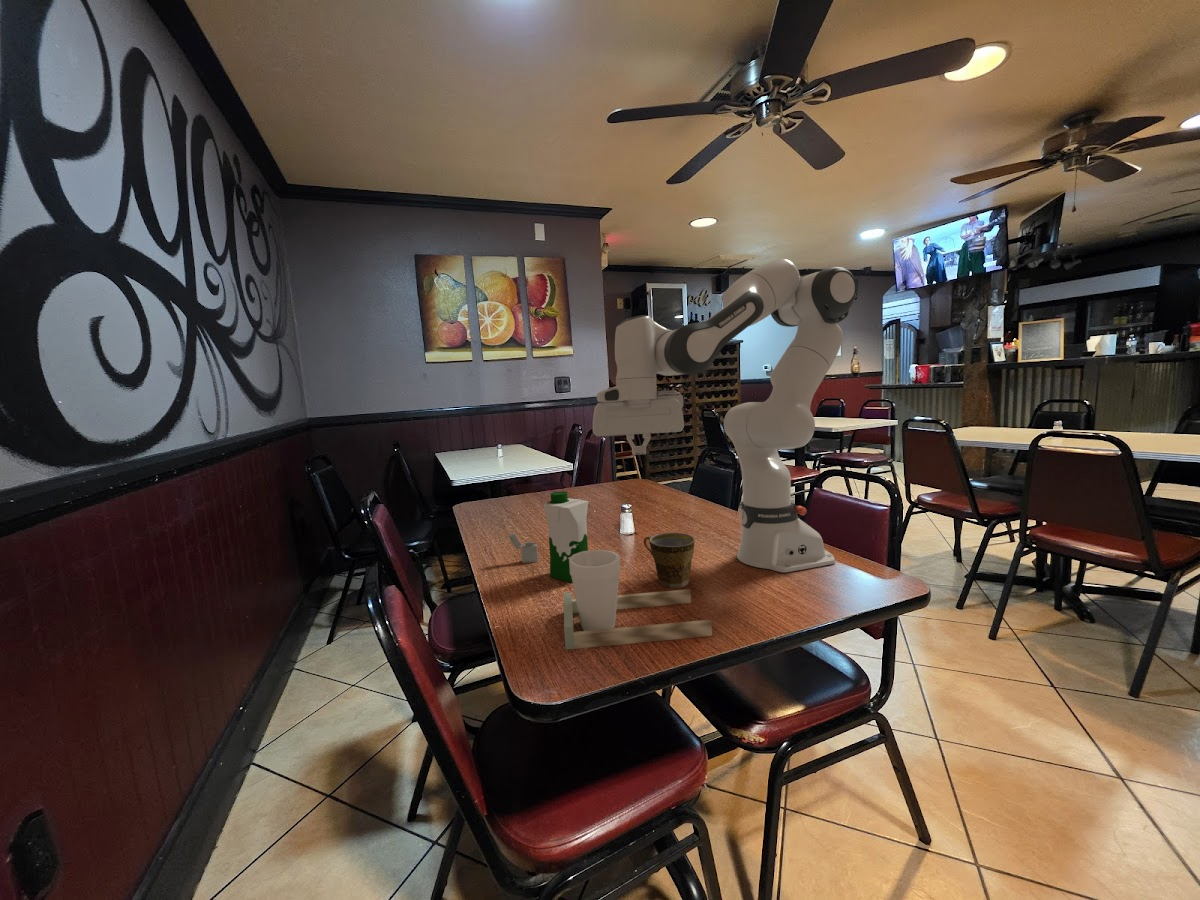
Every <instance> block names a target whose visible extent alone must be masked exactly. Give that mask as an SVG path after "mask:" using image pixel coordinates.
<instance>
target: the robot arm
mask: <svg viewBox="0 0 1200 900" xmlns="http://www.w3.org/2000/svg"><path fill="white" fill-rule="evenodd" d="M856 293H857V282H856V279H855V277H854V275H853V273H852V272H851V271H850V270H849V269H847V268H845V267H842V266H840V267H839V266H834V267H827V268H824V269H820V271H816V272H813V273H810V274H807V275H804V276H802V275H800V271H799V268H798V267H797V265H795V263H793V262H792V261H791V260H789V259H787V258H775V259H773V260H770V261H768V262H766V263H763V264H761V265H759V266H757V267H755V268H753V269H752V270H750V271H748V272H747V273H745V274H744V275H742V276H740V278H738V279H737V280H736V281H734V282H732V284H731V285H730V286H729V287H728V288H727V289H726V290H725V291H724V293H723V296H722V308H721V309H720V310H719V311H717V312H716V313H715V314H713V315H712V316H710V317H709V318H708V319H706V320H705V321H701V322H694V323H689V324H685V325H683V326H681V327H678V328H677V329H673V330H671V329H669V328H666V327H664V326H663V325H660V324H658V323H657V321H655V320H653V319H652V318H651V316H650V315H637V316H632V317H630V318H626V319H624V320H622V321H621V322H620V323H618V325H617V326H616V328H615V333H614V334H615V336H614V359H615V360H614V361H615V363H616V368H617V369H616V371H617V372H616V376H615V386H611V387H608V388H607V389H604V390H602V391H600V392H598V393H597V394H596V400H597V402H599V403H597V404H596V405H595V406H594V410H593V415H592V433H593V434H594V436H596V437H613V436H626V440H627V442H628V443H629V445H630V447H631V453H632V456H638V455H646V454H647V447H648V444H649V443H650V441H651V439H652V438H651V434H661V433H662V434H663V433H664V434H665V433H678V432H679V433H680V432H682V431H683V429H684V427H685V420H684V414H683V408H684V397H683V394H681V392H678V391H677V390H675V389H671V390H657V375H660V376H661V375H662V376H664V377H668V376H670V377H671V376H681V375H692V376H693V375H698V374H701V373H703V372H705V371H707V370H708V369H709V368H710V367H711V365H712V364H713V362H714V361H715V360H716V358H717V357H718V355H719V353H720V352H721V350H722V349H723V348H724V346H726V345H727V344H729V342H730V341H731V340H733V339H734V338H735V337H737V336H738V335H739V334H740V333H742V332H743V331H744V330H746V329H747V328H748V327H751V326H753V325H756V324H757V323H759V322H761V321H762V320H764V319H766V318H767V317H769V316H771V318H772V319H773V321H774V322H775V323H777V325H779V326H782V327H787V328H788V327H789V328H792V327H797V328H796V329H797V330H796V333H795V337H794V339H792V341H791V343H790V344H789V346H788V347H787V348H786V350H785V351H784V353H782V354H783V355H782V356H781V357H780V359H779V360H778V362H777V363H776V365H775V367H774V368H773V370H772V371H771V373H770V376H769V378H770V384H771V385H772V391H771V393H770V395H769V397H768V398H767V399H766V400H765V401H758V402H757V401H749V402H744V403H740V404H737V405H735V406H733V407H731V408H729V410H728V411H727V412H726V414H725V416H724V419H723V429H724V432H725V434H726V436H728V438H729V439H730V441H731V442H732V444H733V446H734V449H735V452H736V455H737V458H738V462H739V465H740V471H741V478H742V479H741V480H742V481H741V483H742V502H741V507H740V509H741V510H740V521H741V526H742V530H741V538H740V544H739V549H738V552H737V555H736V557H737V559H738V561H740V562H741V563H743V564H745V565H748V566H751V567H755V568H760V569H765V570H766V569H767V570H772V571H775V572H779V573H790V572H795V571H801V570H806V569H807V570H808V569H812V568H813V569H814V568H819V567H824V566H830V565H834V564H836V559H835V556H834V555H833V554H832V553H831V552H829V551H828V550H826V549H825V545H824V540H823V538H822V536H821V534H820V533H819V532H818V531H817V530H815V529H814V528H812V526H810V525H808V523H806V522H805V521H803V519H800V518H799V516H798V515H800V516H805V515H806V514H807V511H808V510H807V509H806V507H804V506H802V505H795V504H794V503H792V499H791V498H792V496H791V493H792V491H791V485H792V484H791V483H792V481H791V472H790V470H789V469H788V467H787V466H786V465H785V464H784V462H783V461H782V459H781V457H780V454H779V451H780V450H781V451H784V450H793V449H799V448H802V447H804V446H806V445H807V444H808V443H809V442H810V441H811V439H812V438H813V436H814V433H815V429H816V423H815V422H816V421H815V418H814V415H813V413H812V410H811V406H812V401H813V398H814V395H815V393H816V392H817V390H818V388H819V387H820V385H821V383H822V382H823V380H824V378H825V377H826V375H827V373H828V372H829V370H830V369H831V367H832V365H833V364H834V361H835V360H836V358H837V355H838V353H839V351H840V348H841V346H842V343H843V340H844V333H843V329H842V328H841V326H840V325H838V324H839V323H841V322H843V321H844V320H845V319H846V318H847V316H848V315H849V310H850V309H851V307H852V306H853V303H854V302H855V298H856ZM635 435H642V439H644V440H643V442H642V444H641V445H636V444H635V443H634V441H633V440H634V439H635ZM778 450H779V451H778Z"/></svg>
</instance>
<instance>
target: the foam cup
mask: <svg viewBox="0 0 1200 900" xmlns="http://www.w3.org/2000/svg"><path fill="white" fill-rule="evenodd" d="M569 565H570V575H571V576H572V581H573V583H572V586H573V591H574V596H575V599H576V602H577V607H578V612H579V613H578V616H579V621H580V626H581V629H582V630H583V631H590V630H601V629H612V628H615V626H616V618H617V610H616V608H617V596H618V594H619V583H620V572H621V570H622V569H621V557H620V554H619V553H617V552H614V551H613V550H607V549H588V551H582V552H579V553H576V554H574V555H572V556H571V557H570V558H569Z"/></svg>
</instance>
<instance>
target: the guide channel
mask: <svg viewBox="0 0 1200 900" xmlns="http://www.w3.org/2000/svg"><path fill="white" fill-rule="evenodd" d="M691 603H692V591H691V589H689V588H687V589H676V590H664V591H663V590H662V591H653V592H643V593H642V592H641V593H640V592H639V593H628V594H619V595H618V596H617V608H616V611H617V610H626V609H637V608H649V607H651V608H653V607H659V606H661V607H662V606H663V607H664V606H672V605H683V604H691ZM572 611H573V614H579V612H578V607H577V602H576V598H574V599H573V598H572ZM712 624H713V623H712V621H711V619H701V620H692V621H689V620H688V621H679V622H668V623H659V624H658V623H657V624H647V625H637V626H624V627H614V628H612V629H601V630H590V631H584V630H583V631H582V630H581V631H574V632H573V634H574V649H573V650H576V649H587V648H597V647H598V648H599V647H608V646H610V647H611V646H619V645H629V644H630V645H631V644H640V643H651V642H662V641H670V640H674V641H675V640H683V639H692V638H693V639H694V638H703V637H704V638H705V637H712V636H713V625H712Z"/></svg>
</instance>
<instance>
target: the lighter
mask: <svg viewBox="0 0 1200 900" xmlns="http://www.w3.org/2000/svg"><path fill="white" fill-rule="evenodd" d="M508 538H509V541H511V543H512V544H513V546H514V548H515V550H519V549H521V550H520V552H521V563H522V564H529V563H538V562H539V552H538V544H537V543H535V542H533V541H525V543H524V544H522V543H521V542H520V540H519V538H518V537H517V535H516V534H515V532H512V533H510V534H509V535H508Z"/></svg>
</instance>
